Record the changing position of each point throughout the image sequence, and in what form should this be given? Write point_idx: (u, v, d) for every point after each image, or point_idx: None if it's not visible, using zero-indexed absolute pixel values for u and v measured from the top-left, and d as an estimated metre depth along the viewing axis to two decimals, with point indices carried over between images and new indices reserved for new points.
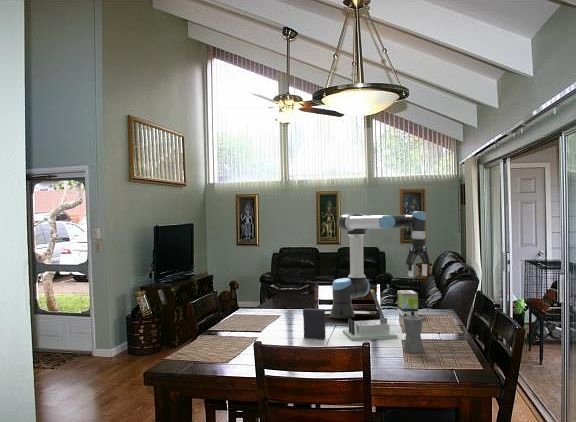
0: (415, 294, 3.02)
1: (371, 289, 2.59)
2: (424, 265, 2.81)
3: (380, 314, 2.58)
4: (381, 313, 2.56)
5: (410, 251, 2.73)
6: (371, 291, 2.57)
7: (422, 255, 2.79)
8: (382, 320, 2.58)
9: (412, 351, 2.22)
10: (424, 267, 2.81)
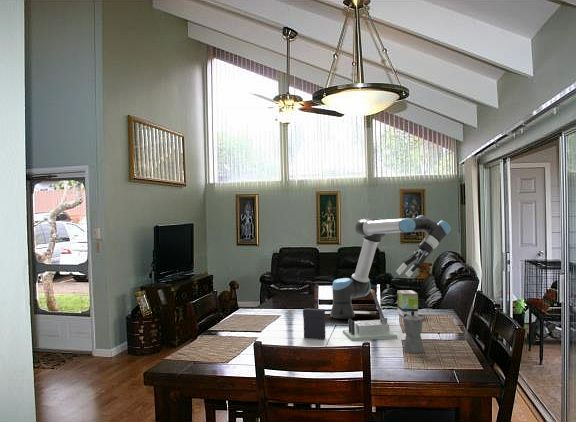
0: (415, 294, 3.02)
1: (371, 289, 2.59)
2: (405, 265, 2.67)
3: (380, 314, 2.58)
4: (381, 313, 2.56)
5: (424, 255, 2.55)
6: (371, 291, 2.57)
7: (415, 258, 2.65)
8: (382, 320, 2.58)
9: (412, 351, 2.22)
10: (403, 267, 2.67)
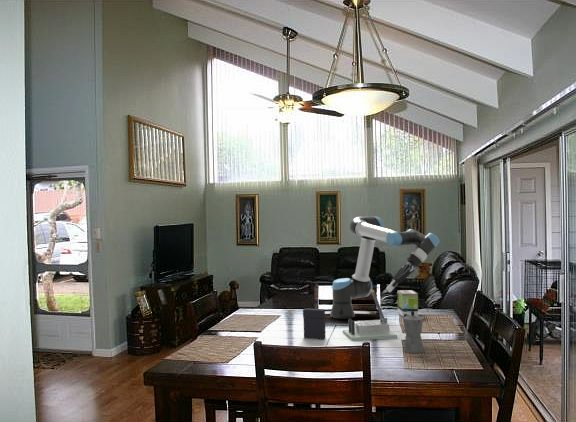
0: (415, 294, 3.02)
1: (371, 289, 2.59)
2: None
3: (380, 314, 2.58)
4: (381, 313, 2.56)
5: (408, 271, 2.54)
6: (371, 291, 2.57)
7: None
8: (382, 320, 2.58)
9: (412, 351, 2.22)
10: None
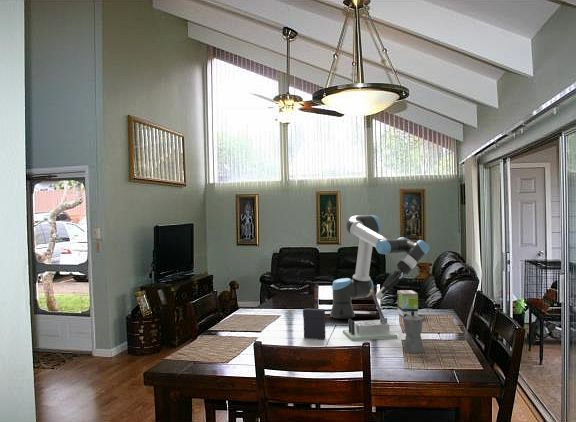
0: (415, 294, 3.02)
1: (371, 290, 2.59)
2: None
3: (380, 314, 2.58)
4: (381, 313, 2.56)
5: (397, 278, 2.54)
6: (371, 291, 2.57)
7: None
8: (382, 320, 2.58)
9: (412, 351, 2.22)
10: None
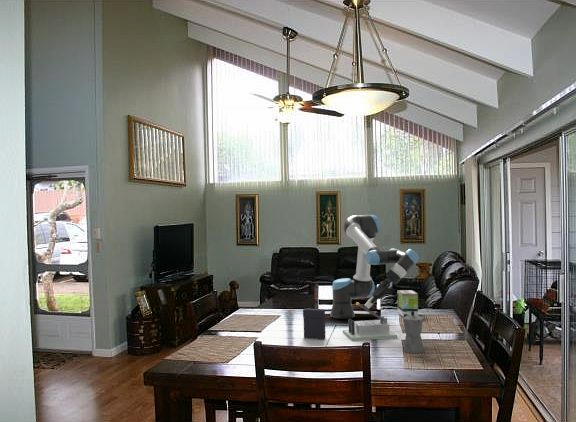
0: (415, 294, 3.02)
1: (356, 302, 2.57)
2: None
3: (377, 317, 2.58)
4: (377, 316, 2.56)
5: (387, 288, 2.53)
6: (357, 305, 2.56)
7: None
8: None
9: (412, 351, 2.22)
10: None
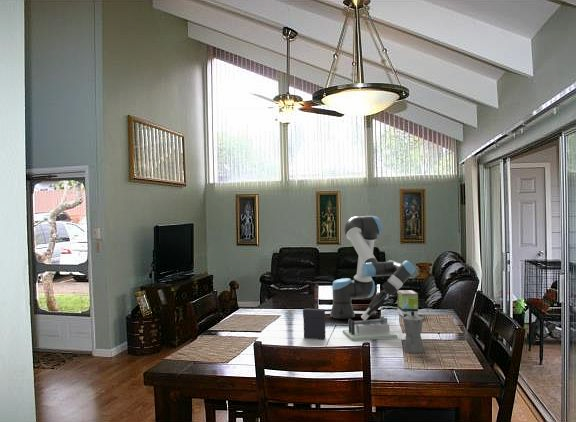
0: (415, 294, 3.02)
1: None
2: None
3: (377, 321, 2.57)
4: (376, 321, 2.56)
5: (383, 299, 2.53)
6: None
7: None
8: None
9: (412, 351, 2.22)
10: None
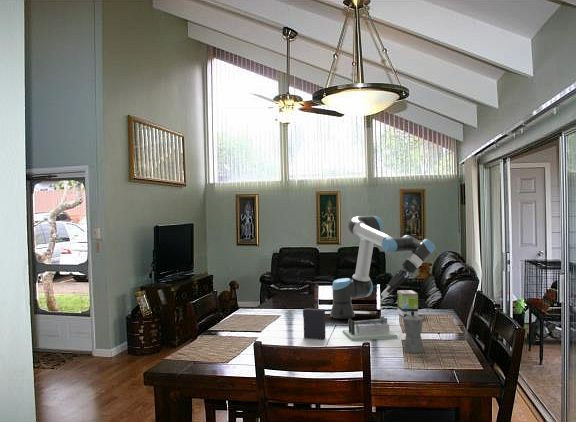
0: (415, 294, 3.02)
1: None
2: None
3: (377, 321, 2.57)
4: (376, 321, 2.56)
5: (403, 277, 2.55)
6: None
7: None
8: None
9: (412, 351, 2.22)
10: None
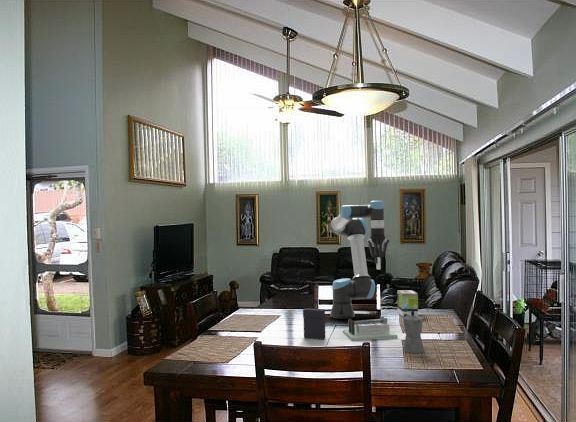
0: (415, 294, 3.02)
1: None
2: None
3: (377, 321, 2.57)
4: (376, 321, 2.56)
5: (368, 244, 2.78)
6: None
7: (379, 245, 2.77)
8: None
9: (412, 351, 2.22)
10: None
